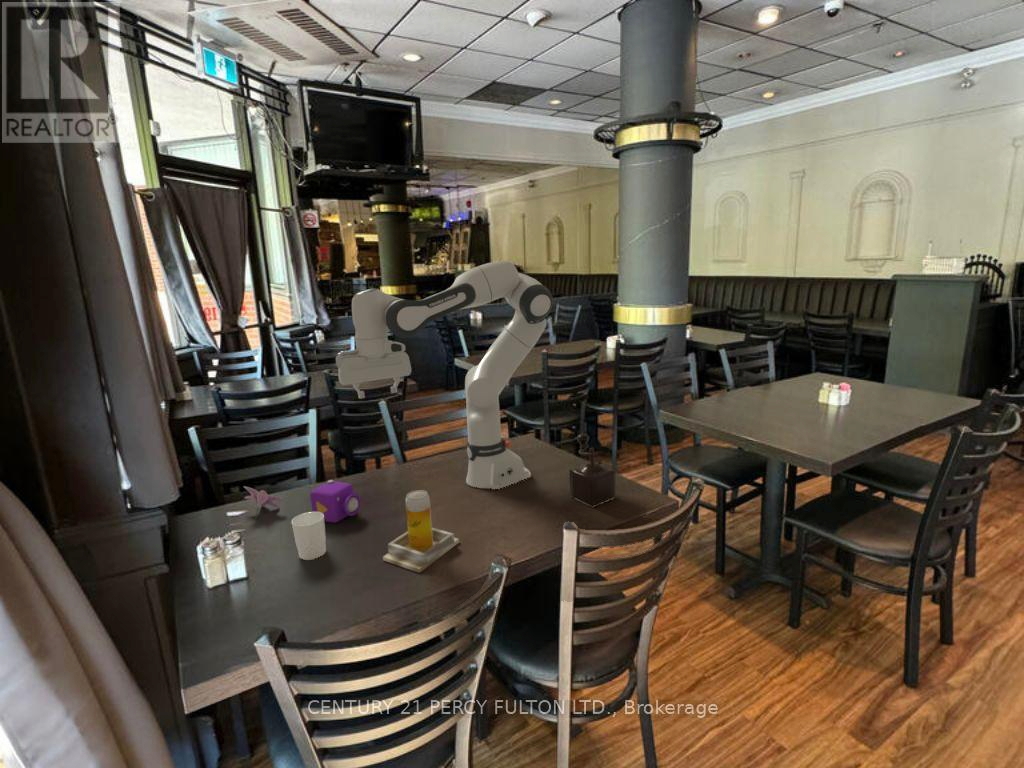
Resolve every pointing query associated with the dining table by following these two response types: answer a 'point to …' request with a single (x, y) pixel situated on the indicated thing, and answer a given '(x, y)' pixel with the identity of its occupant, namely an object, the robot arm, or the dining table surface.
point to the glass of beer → (419, 520)
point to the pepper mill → (591, 478)
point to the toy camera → (335, 501)
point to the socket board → (415, 559)
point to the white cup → (309, 535)
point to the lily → (262, 498)
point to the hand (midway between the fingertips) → (378, 395)
